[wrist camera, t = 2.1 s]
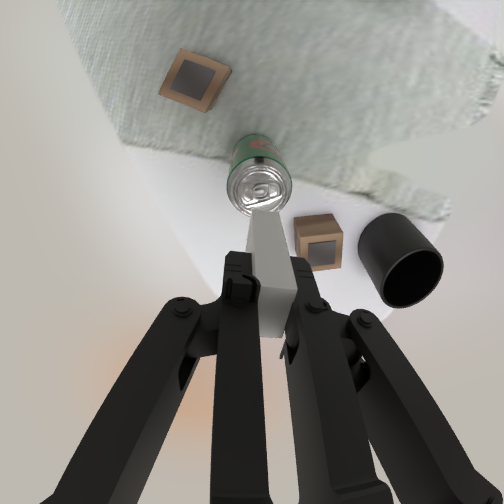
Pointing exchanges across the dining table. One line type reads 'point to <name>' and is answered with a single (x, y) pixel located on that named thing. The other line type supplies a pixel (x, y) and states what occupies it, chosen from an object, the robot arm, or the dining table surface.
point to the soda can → (258, 176)
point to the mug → (399, 260)
